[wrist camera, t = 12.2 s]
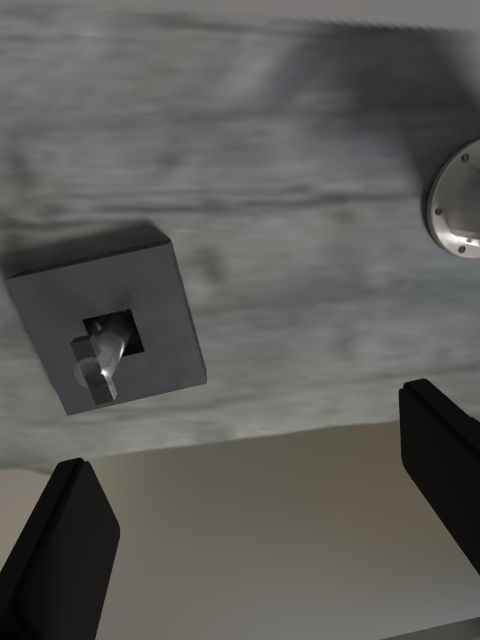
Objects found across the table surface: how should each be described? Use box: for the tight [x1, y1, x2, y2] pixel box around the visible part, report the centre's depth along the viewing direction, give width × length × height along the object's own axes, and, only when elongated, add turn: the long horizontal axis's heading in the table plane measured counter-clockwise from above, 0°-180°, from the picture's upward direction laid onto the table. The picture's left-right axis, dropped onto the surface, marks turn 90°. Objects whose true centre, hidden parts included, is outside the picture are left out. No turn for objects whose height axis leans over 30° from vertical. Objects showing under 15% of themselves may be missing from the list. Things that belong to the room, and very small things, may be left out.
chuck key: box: [70, 313, 134, 405], centre depth 34 cm, size 3×6×11 cm, turn 11°
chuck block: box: [5, 240, 207, 416], centre depth 38 cm, size 16×16×3 cm
